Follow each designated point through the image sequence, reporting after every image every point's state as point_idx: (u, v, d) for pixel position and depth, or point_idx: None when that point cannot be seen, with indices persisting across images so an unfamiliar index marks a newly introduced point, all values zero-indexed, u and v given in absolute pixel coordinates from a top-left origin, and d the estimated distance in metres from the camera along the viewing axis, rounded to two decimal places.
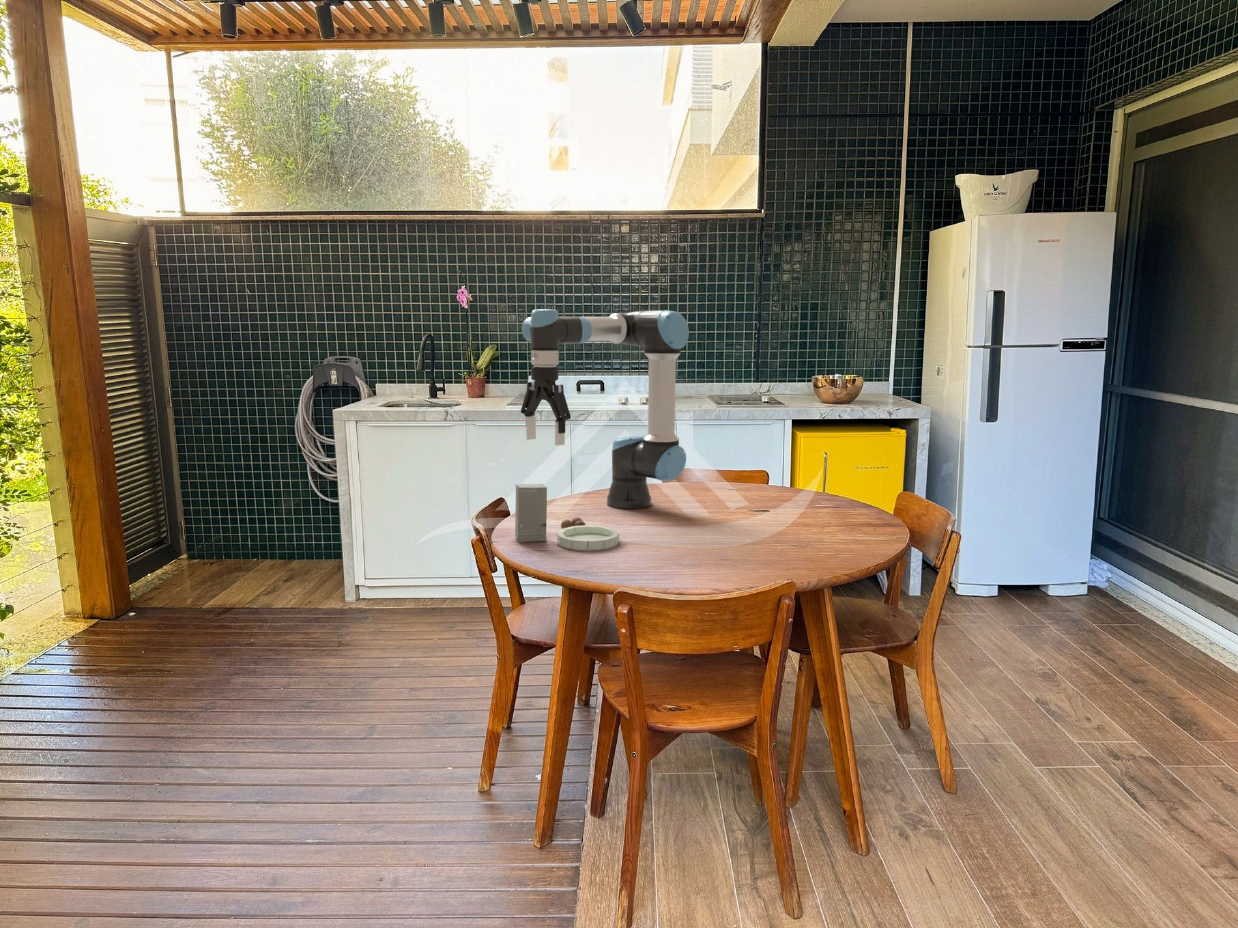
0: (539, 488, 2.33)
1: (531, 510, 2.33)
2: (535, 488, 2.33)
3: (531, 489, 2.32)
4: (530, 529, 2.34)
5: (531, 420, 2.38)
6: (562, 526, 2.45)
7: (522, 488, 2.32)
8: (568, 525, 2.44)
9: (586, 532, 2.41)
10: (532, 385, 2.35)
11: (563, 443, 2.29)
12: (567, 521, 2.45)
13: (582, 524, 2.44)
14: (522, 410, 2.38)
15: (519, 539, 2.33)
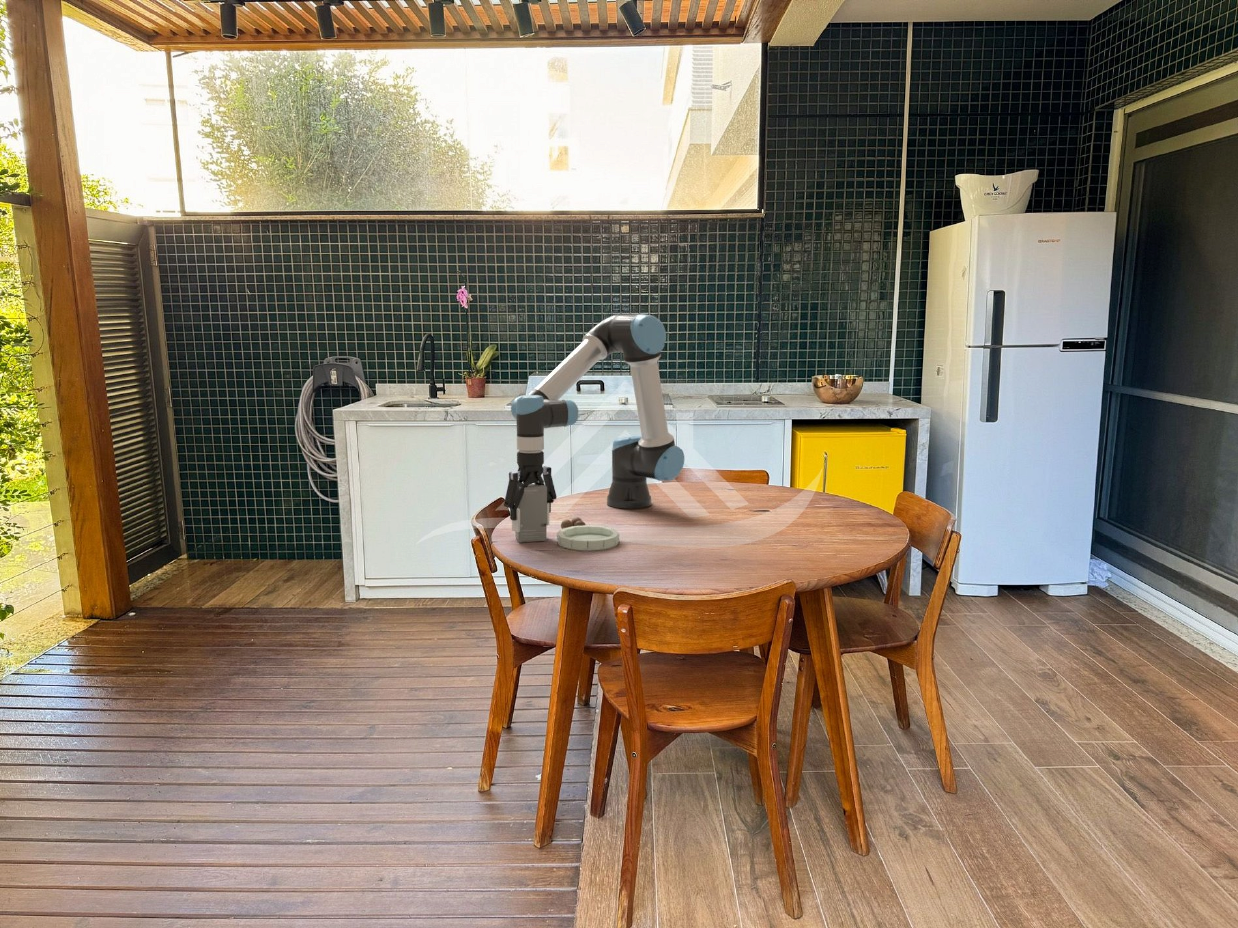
0: (539, 488, 2.33)
1: (531, 510, 2.33)
2: (535, 488, 2.33)
3: (531, 489, 2.32)
4: (530, 529, 2.34)
5: None
6: (562, 526, 2.45)
7: None
8: (568, 525, 2.44)
9: (586, 532, 2.41)
10: None
11: (517, 530, 2.32)
12: (567, 521, 2.45)
13: (582, 524, 2.44)
14: None
15: (519, 539, 2.33)
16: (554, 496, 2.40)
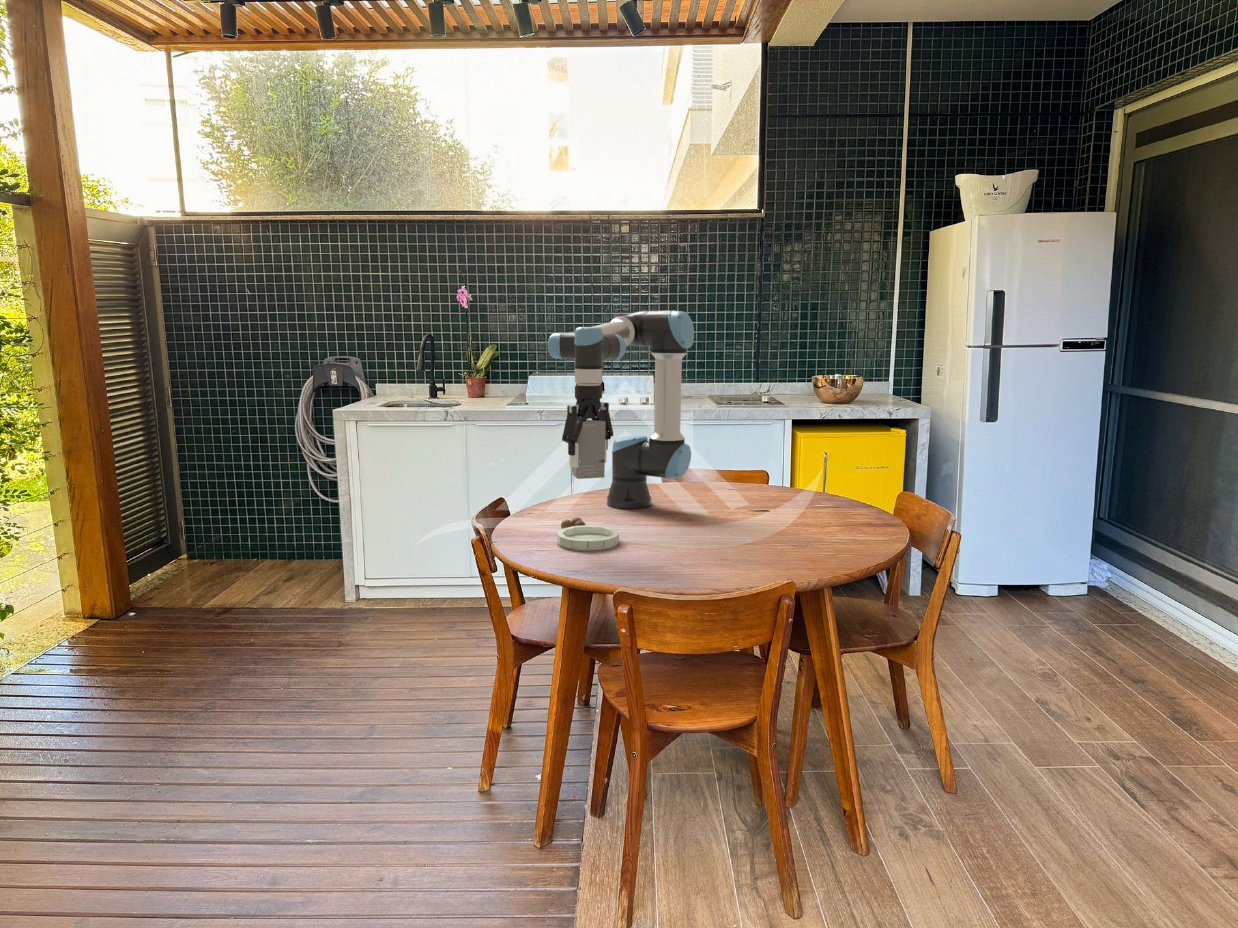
0: (598, 422, 2.27)
1: (590, 445, 2.27)
2: (594, 422, 2.26)
3: (590, 423, 2.26)
4: (588, 464, 2.27)
5: None
6: (562, 526, 2.45)
7: None
8: (568, 525, 2.44)
9: (586, 532, 2.41)
10: None
11: (575, 466, 2.26)
12: (567, 521, 2.45)
13: (582, 524, 2.44)
14: None
15: (577, 475, 2.27)
16: (611, 433, 2.34)
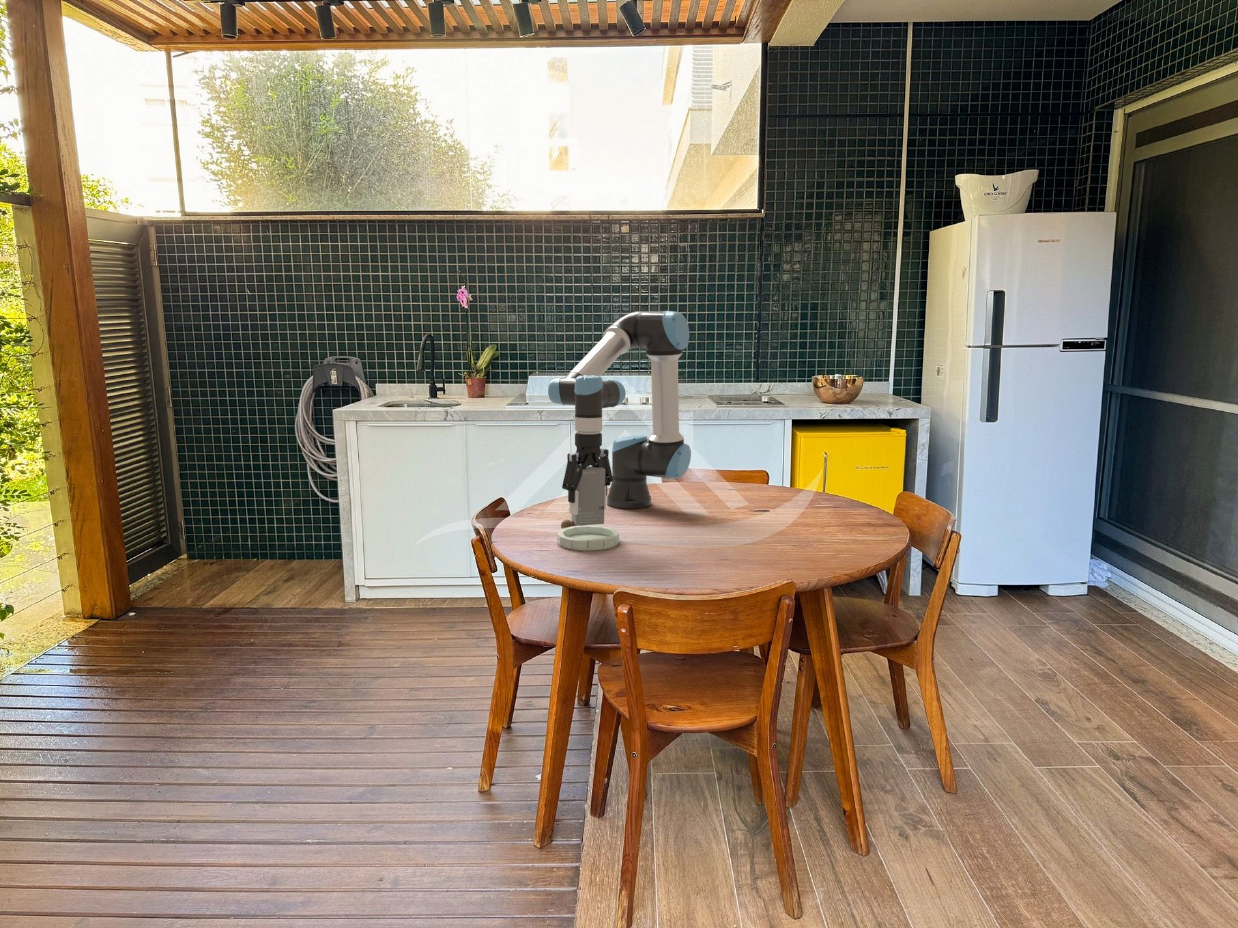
0: (597, 470, 2.29)
1: (589, 492, 2.29)
2: (593, 470, 2.29)
3: (589, 471, 2.28)
4: (588, 511, 2.29)
5: None
6: (562, 526, 2.45)
7: None
8: (568, 525, 2.44)
9: (586, 532, 2.41)
10: None
11: (575, 513, 2.28)
12: (567, 521, 2.45)
13: None
14: None
15: (577, 522, 2.29)
16: (611, 479, 2.36)
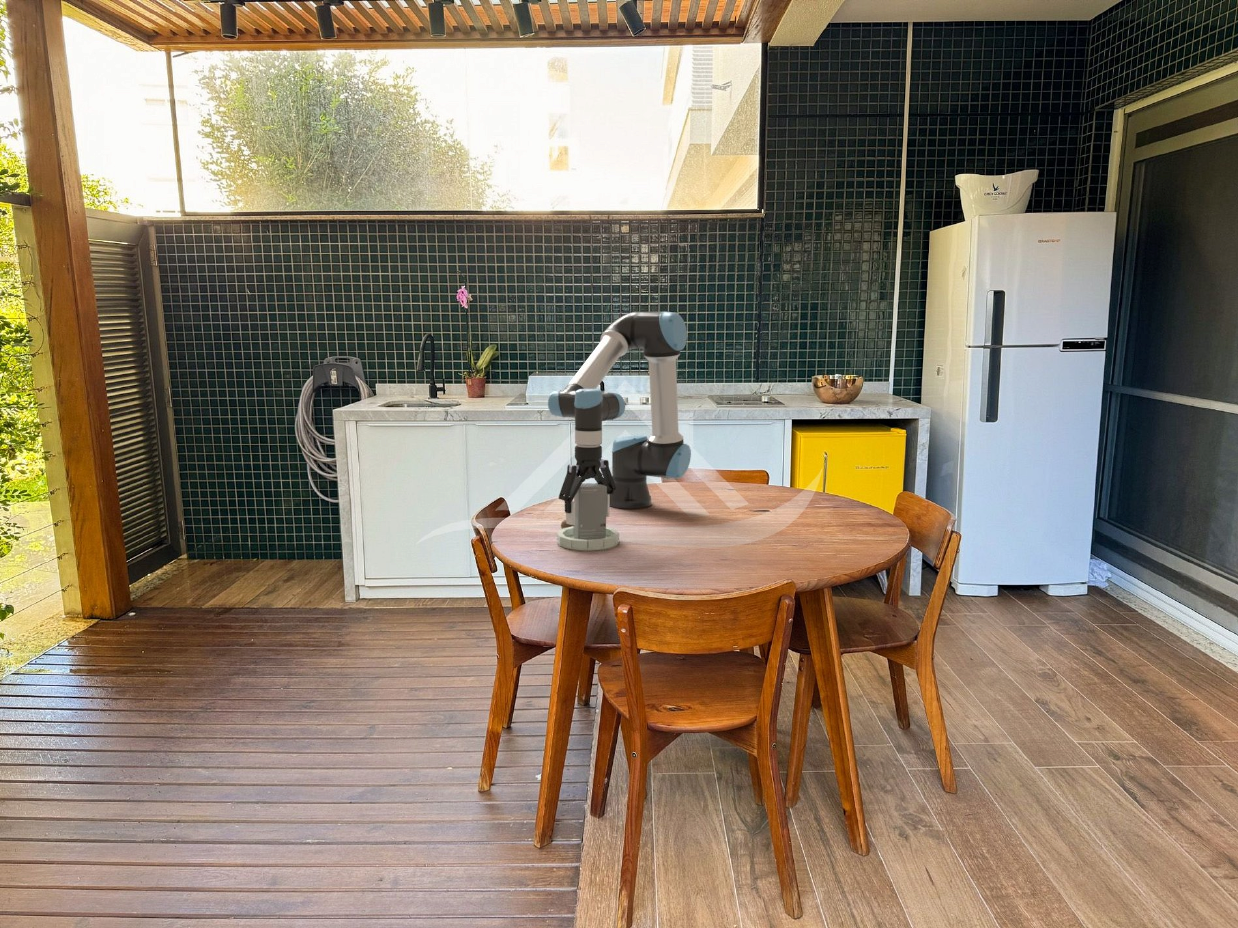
0: (599, 487, 2.30)
1: (591, 510, 2.30)
2: (595, 487, 2.30)
3: (591, 488, 2.30)
4: (590, 529, 2.31)
5: None
6: (562, 526, 2.45)
7: (582, 487, 2.29)
8: (568, 525, 2.44)
9: None
10: None
11: (571, 523, 2.28)
12: None
13: None
14: None
15: None
16: (614, 487, 2.38)
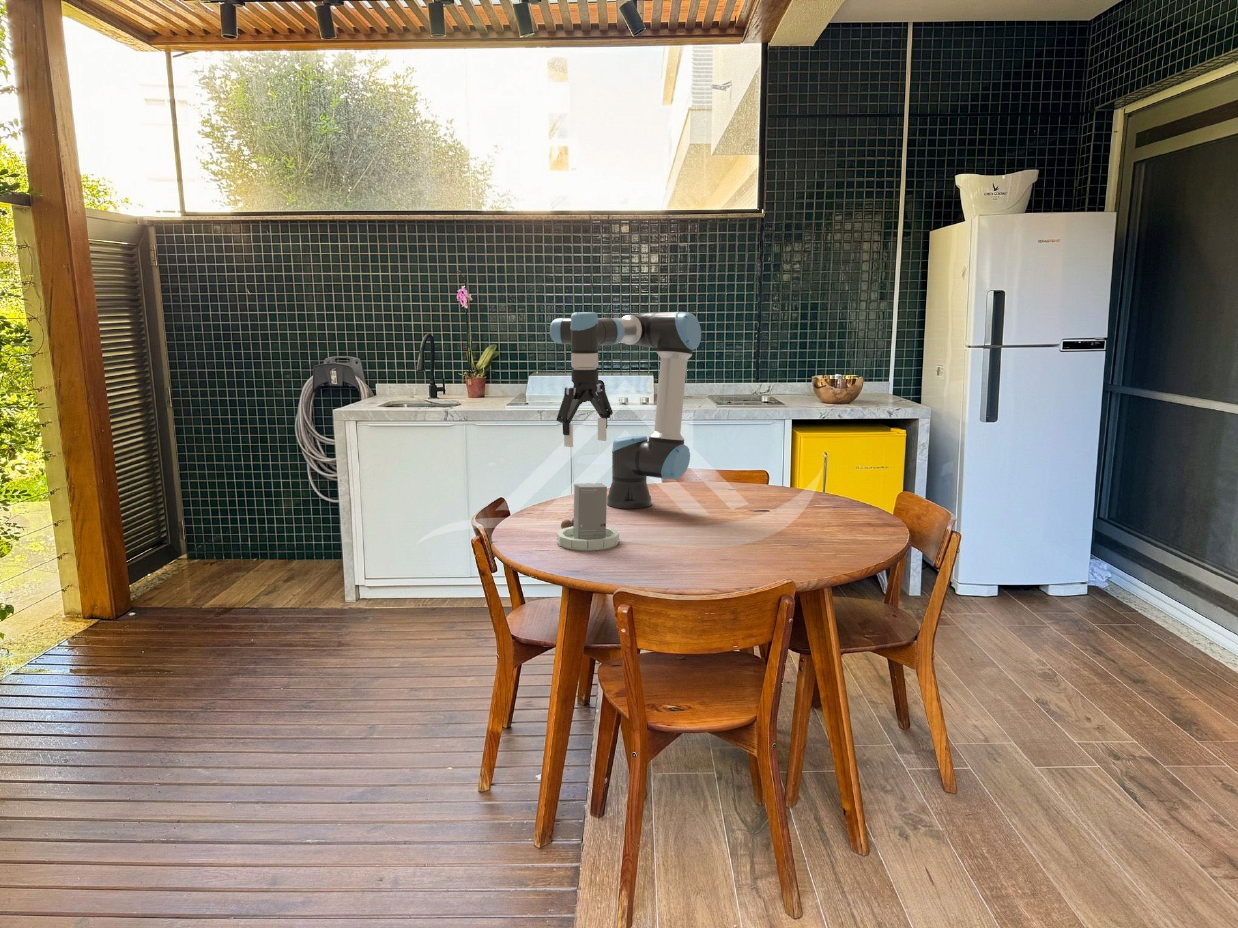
0: (599, 487, 2.30)
1: (591, 510, 2.30)
2: (595, 487, 2.30)
3: (591, 488, 2.30)
4: (590, 529, 2.31)
5: (600, 421, 2.40)
6: (562, 526, 2.45)
7: (582, 487, 2.29)
8: (568, 525, 2.44)
9: None
10: None
11: (570, 445, 2.30)
12: (567, 521, 2.45)
13: None
14: None
15: None
16: (610, 412, 2.41)
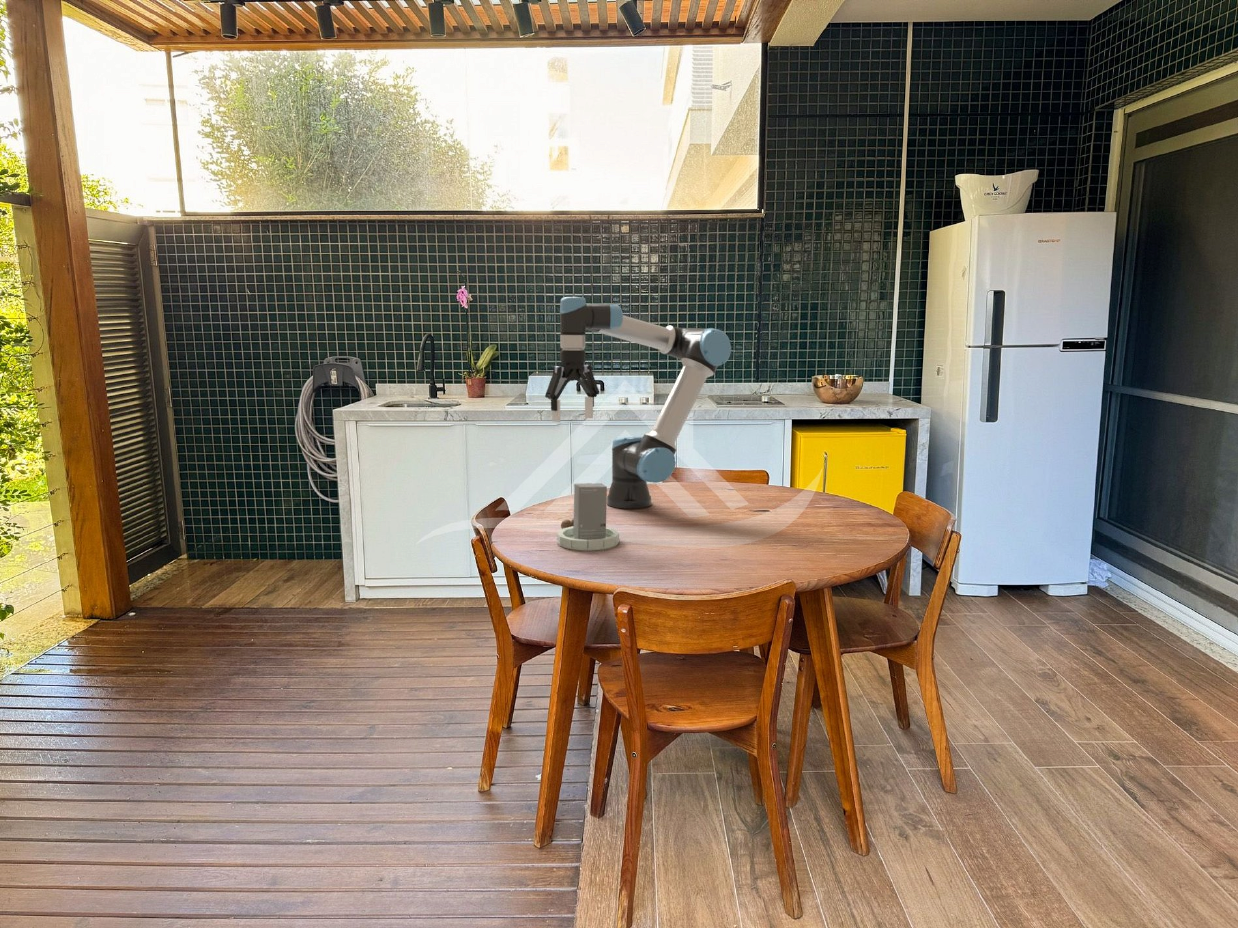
0: (599, 487, 2.30)
1: (591, 510, 2.30)
2: (595, 487, 2.30)
3: (591, 488, 2.30)
4: (590, 529, 2.31)
5: (587, 400, 2.57)
6: (562, 526, 2.45)
7: (582, 487, 2.29)
8: (568, 525, 2.44)
9: None
10: None
11: (557, 420, 2.47)
12: (567, 521, 2.45)
13: None
14: None
15: None
16: (597, 391, 2.58)
